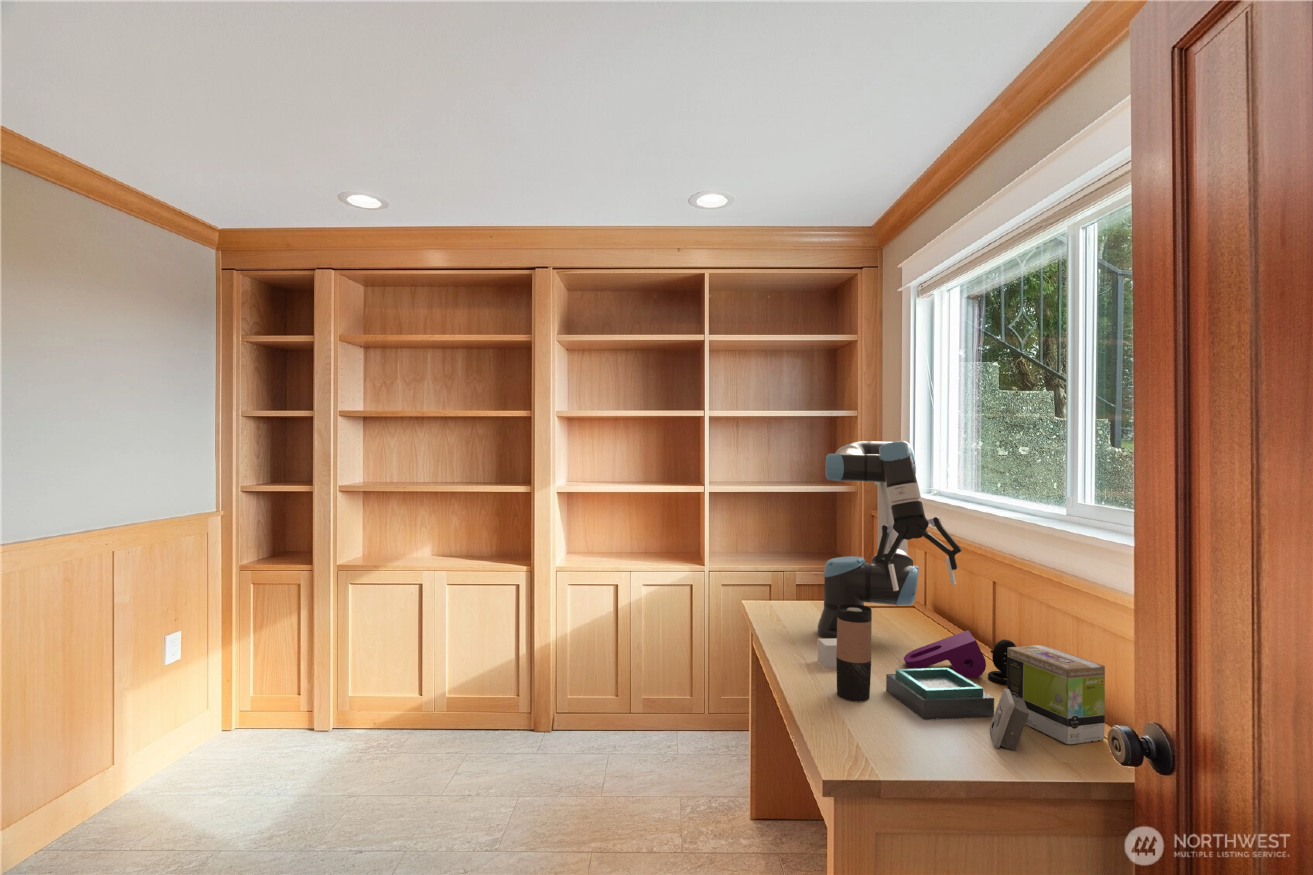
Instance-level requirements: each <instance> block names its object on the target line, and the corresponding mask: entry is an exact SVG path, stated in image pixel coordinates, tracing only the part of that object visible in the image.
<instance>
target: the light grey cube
mask: <svg viewBox="0 0 1313 875" xmlns="http://www.w3.org/2000/svg"><path fill="white" fill-rule="evenodd" d="M836 650H837V638H830V639H826V638H817V661H816V662H818V663H819V664H820V665H821V666H822V667H823V668H824V669H826V670H827V669H828V670H831V669H836V670H837V665H836Z"/></svg>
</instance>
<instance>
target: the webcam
mask: <svg viewBox="0 0 1313 875" xmlns="http://www.w3.org/2000/svg"><path fill="white" fill-rule="evenodd" d="M1009 647H1017V645H1016V644H1015V643H1014V642H1013V641H1011V640H1009V639H1001V640H999V641H998V642H997V643H996V644H995V645H994V647H993V649H990V653H991V656H992V657H991V658H992V663H993V665H994V667H995V669H997V670H991V671H989V672H988V673H987V678H988V679H989V680H990V681H991V682H994V683H995V684H998V685H1003V686H1007V648H1009Z"/></svg>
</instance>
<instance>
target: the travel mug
mask: <svg viewBox="0 0 1313 875" xmlns="http://www.w3.org/2000/svg"><path fill="white" fill-rule="evenodd" d="M872 612H873V611H872V608H871V607H870V606H867V605H865V604H864V605H859V604H841V605H839V606H838V611H837V650H836V665H837V669H836V694H837V696H838V697H839V698H841V699H842V698H843V699H842V700H845V701H848V702H849V701H850V702H855V701H857V703H859V702H860V701H862V702H866V701H868V700H870V697H871V696H870V695H871V694H870V693H871V678H872V677H871V676H872V644H873V643H872V637H873V636H872V626H873V625H872V618H873V617H872V615H873V614H872Z"/></svg>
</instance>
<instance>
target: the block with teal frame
mask: <svg viewBox="0 0 1313 875" xmlns="http://www.w3.org/2000/svg"><path fill="white" fill-rule="evenodd" d="M885 677H886V678H885V681H886V682H885V686H886V687H885V691H886V693H888V694H889V695H890V696H892V697H893V698H894V699H896V700H897V701H899V703H901V704H902V705H904V707H906V708H907V709H909V710H910V711H911V712H913V713H914V714H916V715H917V716H918V717H919V718H920V719H922V720H923V721H927V720H947V719H948V720H949V719H952V720H953V719H970V718H971V719H972V718H973V719H974V718H993V717H994V714H995V697H994V696H992V695H990V694H989V693H987V692H985V691H984V688H983V687H982V686H981V685H978V684H977V683H975V682H974V681H971V680H970V679H969V678H965V677H963V676H961V675H960V674H958V673H956V672H955V671H954V669H951V668H949V667H925V668H921V669H909V668H896V669H895V673H886V675H885Z"/></svg>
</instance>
